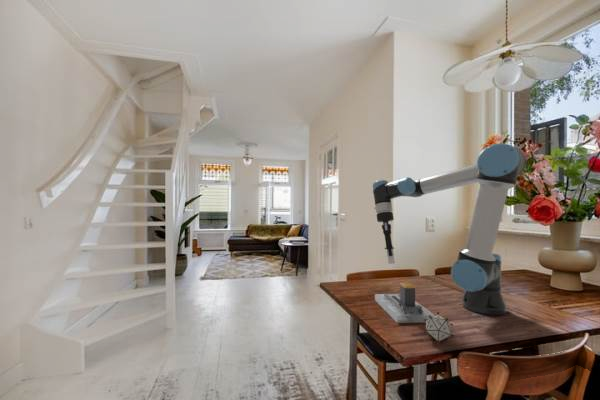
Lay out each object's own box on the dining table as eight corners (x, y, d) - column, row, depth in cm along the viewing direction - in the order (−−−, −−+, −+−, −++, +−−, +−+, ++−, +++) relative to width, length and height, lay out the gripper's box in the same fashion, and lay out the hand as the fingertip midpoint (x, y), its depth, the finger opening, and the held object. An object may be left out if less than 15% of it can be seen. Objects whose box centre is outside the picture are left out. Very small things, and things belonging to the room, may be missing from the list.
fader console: (374, 299, 124) (374, 289, 124) (405, 299, 125) (405, 289, 125) (397, 322, 100) (397, 310, 100) (435, 322, 101) (435, 309, 101)
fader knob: (398, 305, 110) (398, 282, 110) (410, 305, 110) (410, 282, 110) (404, 310, 105) (404, 286, 105) (416, 309, 105) (416, 286, 105)
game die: (445, 354, 86) (466, 336, 81) (420, 345, 86) (440, 326, 81) (436, 328, 94) (455, 310, 89) (413, 320, 94) (431, 301, 89)
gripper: (377, 216, 141) (384, 264, 135) (375, 211, 129) (382, 264, 123) (393, 214, 138) (400, 262, 132) (392, 209, 126) (400, 262, 120)
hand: (391, 263), depth 128 cm, fingers closed
